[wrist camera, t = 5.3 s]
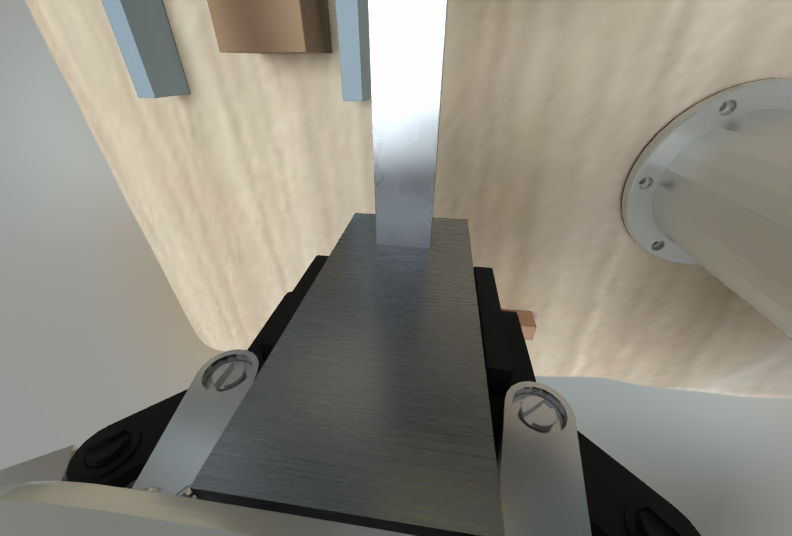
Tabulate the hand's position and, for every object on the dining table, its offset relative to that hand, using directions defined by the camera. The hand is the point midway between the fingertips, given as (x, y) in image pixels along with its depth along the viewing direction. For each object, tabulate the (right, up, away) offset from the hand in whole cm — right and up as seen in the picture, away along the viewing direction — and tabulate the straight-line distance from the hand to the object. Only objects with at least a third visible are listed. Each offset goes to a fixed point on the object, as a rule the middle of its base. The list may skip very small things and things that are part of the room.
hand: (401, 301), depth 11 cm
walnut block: (-7, +18, +10) cm, 22 cm away
